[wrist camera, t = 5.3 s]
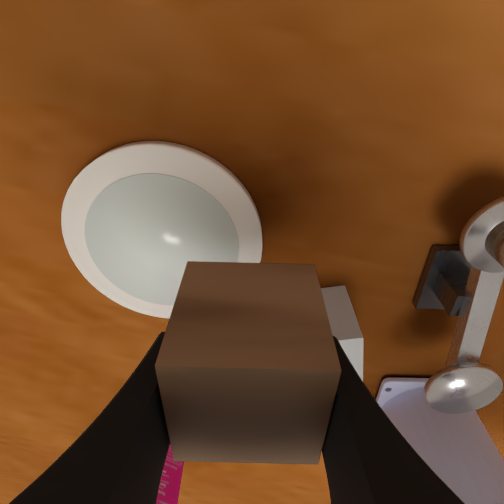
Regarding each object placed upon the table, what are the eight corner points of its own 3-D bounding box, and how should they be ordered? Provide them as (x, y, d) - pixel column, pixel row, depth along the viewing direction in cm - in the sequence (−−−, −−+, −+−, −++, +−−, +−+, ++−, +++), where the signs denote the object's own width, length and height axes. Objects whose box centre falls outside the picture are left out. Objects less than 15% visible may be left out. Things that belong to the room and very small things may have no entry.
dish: (260, 309, 22) (260, 322, 21) (96, 307, 23) (89, 319, 22) (264, 141, 17) (264, 148, 16) (42, 139, 17) (28, 146, 16)
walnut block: (302, 351, 14) (317, 464, 11) (196, 348, 14) (174, 460, 11) (314, 264, 12) (341, 370, 8) (187, 261, 12) (154, 366, 8)
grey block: (346, 334, 24) (362, 390, 20) (282, 341, 24) (287, 397, 20) (344, 284, 21) (363, 337, 18) (274, 292, 22) (278, 346, 18)
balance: (446, 348, 24) (486, 414, 20) (391, 347, 24) (419, 413, 20) (527, 174, 17) (615, 218, 13) (449, 173, 17) (510, 217, 13)
